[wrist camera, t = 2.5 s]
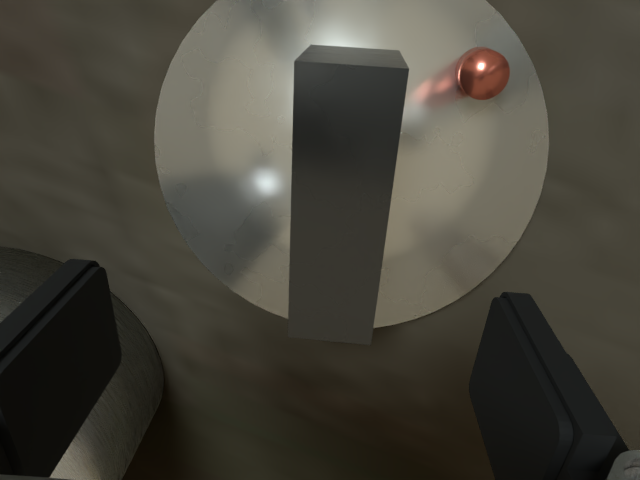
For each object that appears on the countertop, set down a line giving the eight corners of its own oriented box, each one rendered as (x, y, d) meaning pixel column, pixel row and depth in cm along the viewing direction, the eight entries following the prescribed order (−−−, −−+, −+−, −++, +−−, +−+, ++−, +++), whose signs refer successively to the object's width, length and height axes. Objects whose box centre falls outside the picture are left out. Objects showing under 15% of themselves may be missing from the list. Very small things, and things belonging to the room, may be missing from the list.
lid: (142, -60, 17) (48, -82, 12) (595, -36, 16) (699, -47, 11) (183, 298, 24) (136, 376, 19) (488, 328, 23) (521, 417, 19)
